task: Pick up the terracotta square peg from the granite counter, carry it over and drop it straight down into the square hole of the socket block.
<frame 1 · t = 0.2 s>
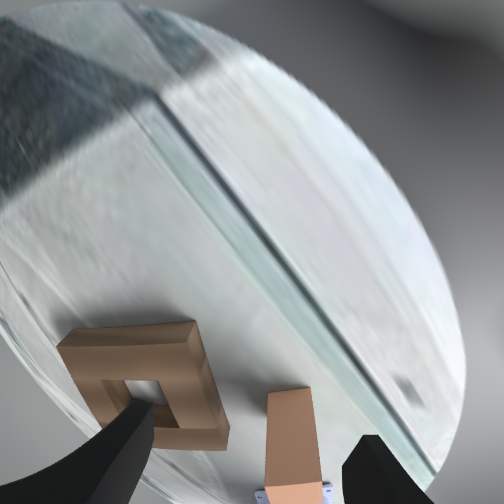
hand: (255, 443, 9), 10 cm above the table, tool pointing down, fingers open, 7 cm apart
socket: (150, 383, 21), on the table
peg: (291, 404, 21), on the table
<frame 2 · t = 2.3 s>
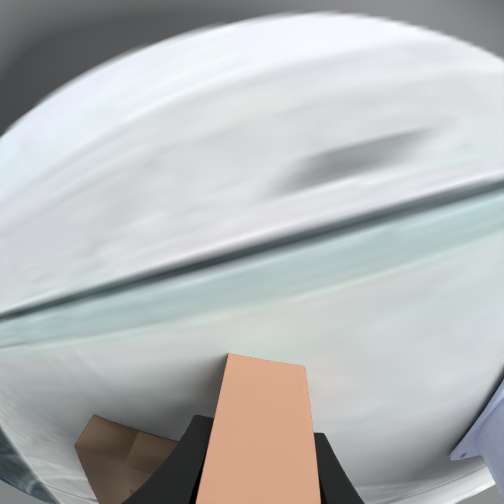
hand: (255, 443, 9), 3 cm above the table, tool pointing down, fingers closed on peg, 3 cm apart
socket: (179, 484, 15), on the table
peg: (259, 388, 12), on the table, touching gripper
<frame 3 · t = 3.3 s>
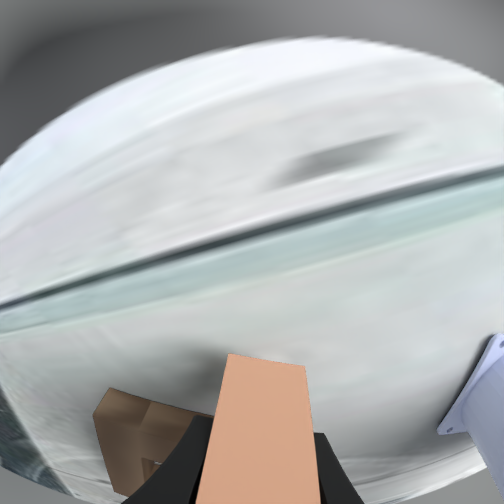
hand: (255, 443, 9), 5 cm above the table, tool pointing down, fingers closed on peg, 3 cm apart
socket: (186, 456, 17), on the table
peg: (259, 388, 12), point 2 cm above the table, touching gripper
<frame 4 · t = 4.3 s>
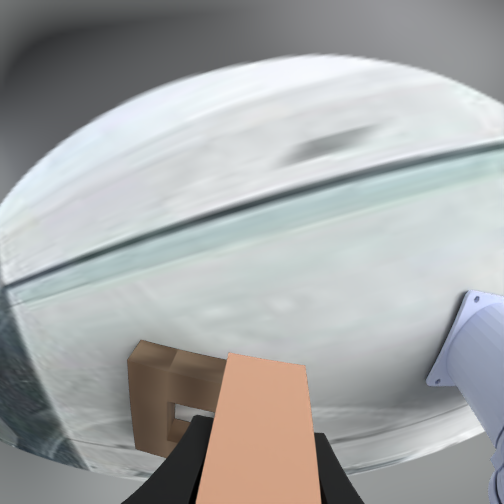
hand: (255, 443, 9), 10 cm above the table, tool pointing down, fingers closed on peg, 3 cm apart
socket: (204, 406, 21), on the table
peg: (259, 387, 12), point 7 cm above the table, touching gripper
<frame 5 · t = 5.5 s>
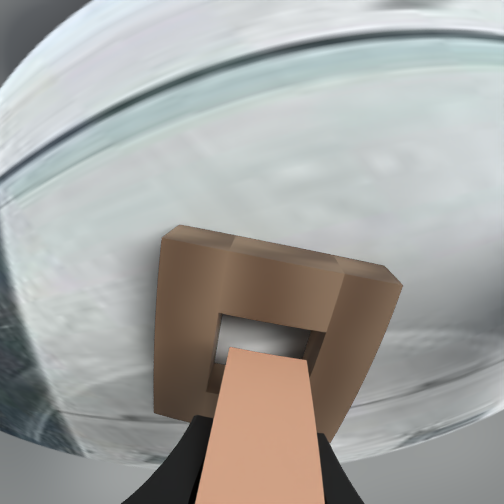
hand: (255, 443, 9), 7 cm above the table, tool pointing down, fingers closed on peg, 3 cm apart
socket: (263, 337, 16), on the table
peg: (260, 382, 12), point 4 cm above the table, touching gripper
when the fingers open (3 cm above the table, at t = 6.6 s): peg stays where it is, resting in socket.
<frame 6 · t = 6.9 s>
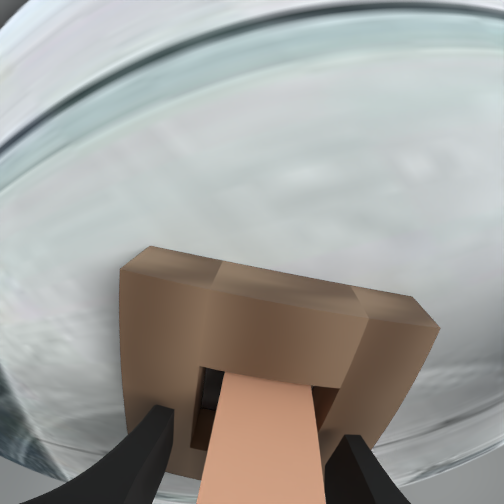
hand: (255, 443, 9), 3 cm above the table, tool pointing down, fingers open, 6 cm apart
socket: (259, 382, 12), on the table
peg: (261, 377, 12), resting in socket
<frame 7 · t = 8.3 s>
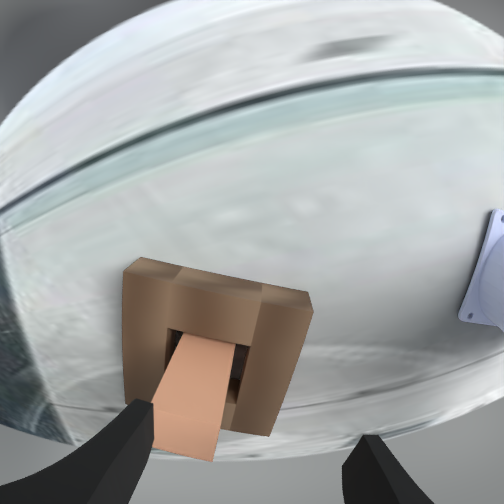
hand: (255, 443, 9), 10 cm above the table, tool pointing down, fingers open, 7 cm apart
socket: (210, 346, 19), on the table
peg: (211, 342, 19), resting in socket
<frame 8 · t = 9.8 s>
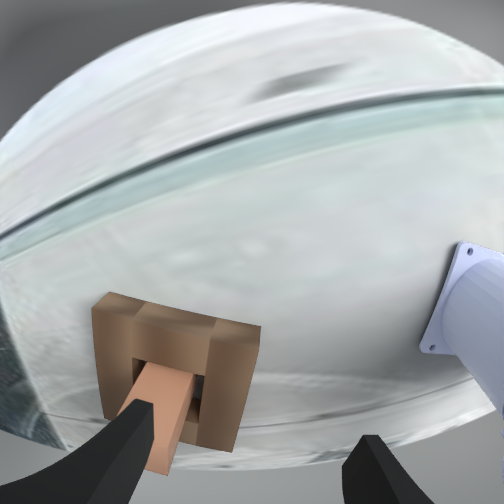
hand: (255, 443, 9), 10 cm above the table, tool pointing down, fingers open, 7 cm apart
socket: (175, 370, 20), on the table
peg: (176, 367, 20), resting in socket
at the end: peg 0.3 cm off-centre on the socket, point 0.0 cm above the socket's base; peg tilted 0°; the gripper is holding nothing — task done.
